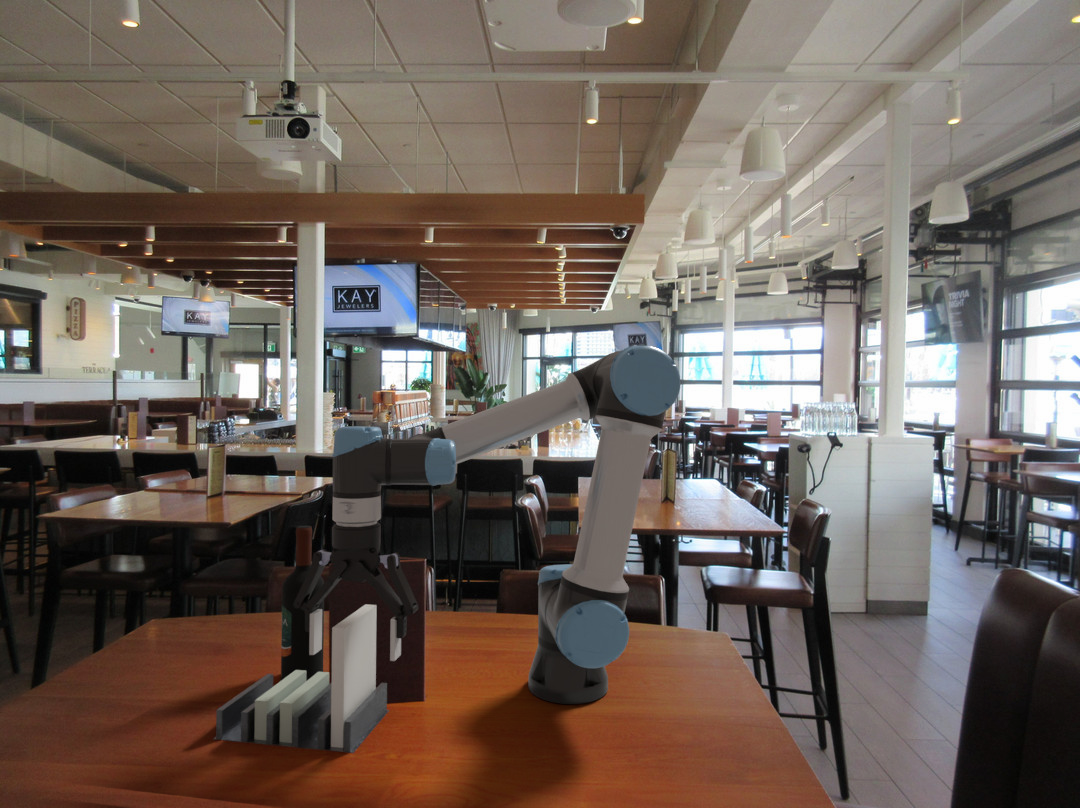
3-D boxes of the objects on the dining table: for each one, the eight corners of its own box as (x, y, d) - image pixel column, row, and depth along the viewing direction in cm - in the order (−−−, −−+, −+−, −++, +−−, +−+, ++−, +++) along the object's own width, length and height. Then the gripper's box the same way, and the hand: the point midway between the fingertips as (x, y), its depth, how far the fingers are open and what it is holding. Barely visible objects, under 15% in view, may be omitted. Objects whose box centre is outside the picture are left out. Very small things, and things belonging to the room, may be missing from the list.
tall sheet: (375, 711, 111) (376, 605, 111) (343, 747, 99) (344, 628, 99) (364, 710, 111) (365, 604, 111) (330, 746, 99) (332, 627, 99)
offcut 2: (328, 707, 112) (329, 672, 112) (291, 742, 100) (292, 703, 100) (318, 706, 112) (318, 671, 112) (279, 741, 100) (279, 702, 100)
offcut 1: (306, 705, 113) (306, 670, 113) (266, 740, 101) (266, 701, 101) (295, 704, 113) (295, 669, 113) (254, 739, 101) (254, 700, 101)
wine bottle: (309, 695, 120) (311, 531, 120) (272, 691, 122) (274, 529, 122) (330, 678, 127) (332, 524, 128) (295, 674, 129) (297, 522, 129)
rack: (389, 718, 111) (389, 683, 111) (353, 762, 97) (353, 722, 97) (264, 707, 115) (265, 673, 115) (213, 748, 101) (213, 709, 101)
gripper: (271, 523, 103) (270, 658, 103) (423, 529, 99) (421, 669, 99) (296, 515, 111) (295, 641, 111) (438, 521, 107) (437, 651, 107)
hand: (355, 655), depth 105 cm, fingers open, 13 cm apart
